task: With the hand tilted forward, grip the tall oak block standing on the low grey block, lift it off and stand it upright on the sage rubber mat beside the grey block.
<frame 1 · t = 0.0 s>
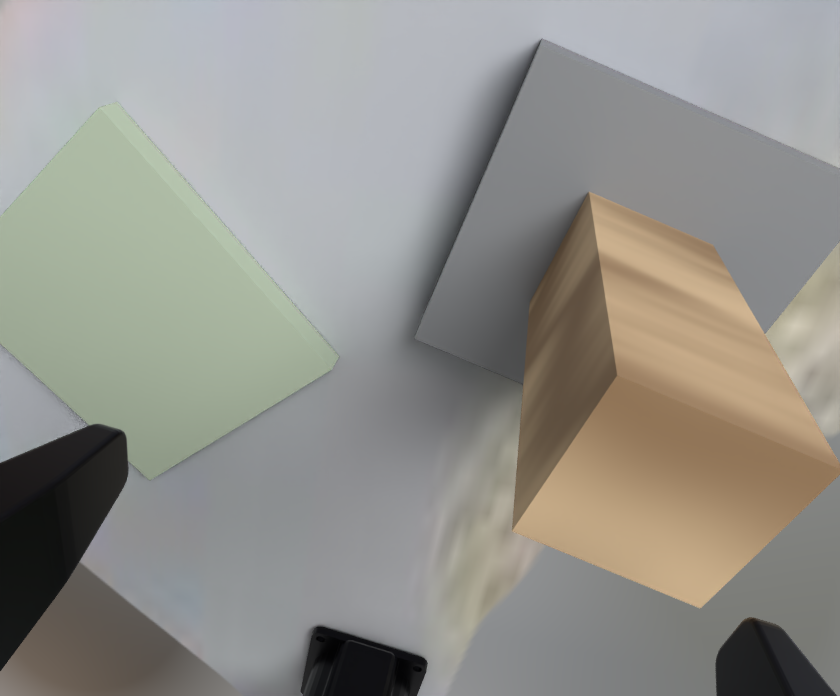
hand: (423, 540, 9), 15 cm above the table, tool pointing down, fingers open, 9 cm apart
oak block: (616, 275, 20), point 2 cm above the table, touching grey block
grey block: (611, 251, 21), on the table
sage mat: (142, 315, 26), on the table
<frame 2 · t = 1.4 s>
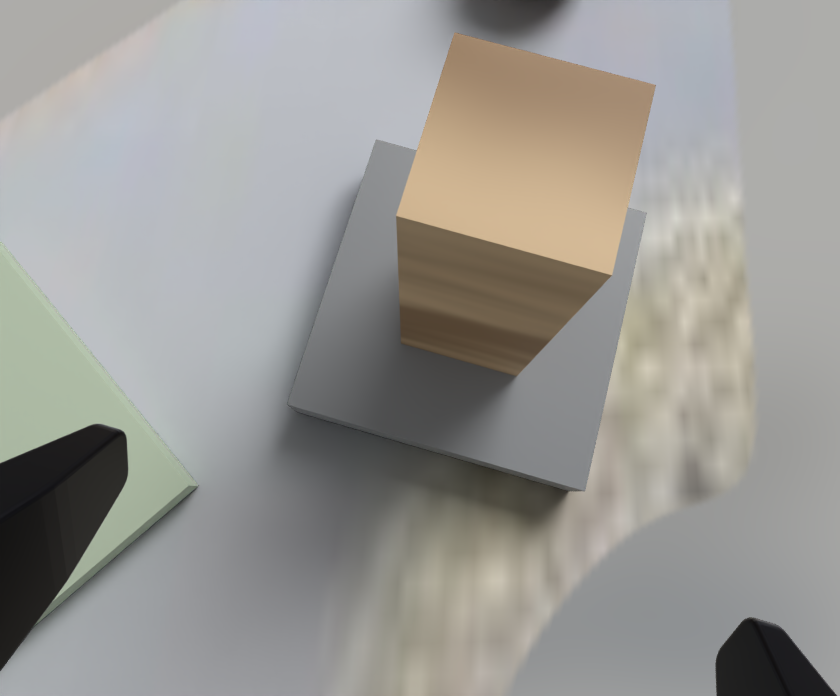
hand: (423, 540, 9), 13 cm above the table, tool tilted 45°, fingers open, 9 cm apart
oak block: (474, 304, 22), point 2 cm above the table, touching grey block
grey block: (468, 320, 23), on the table
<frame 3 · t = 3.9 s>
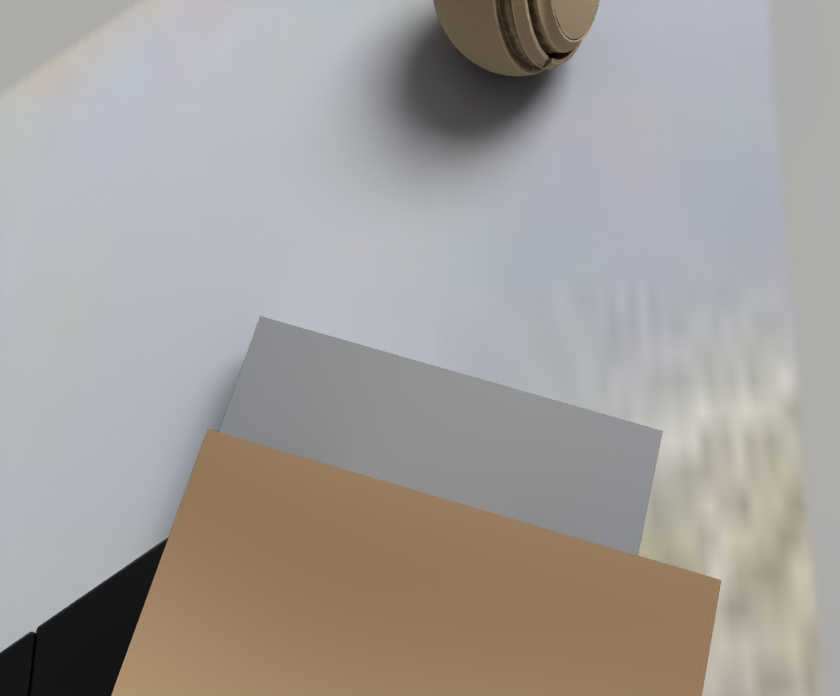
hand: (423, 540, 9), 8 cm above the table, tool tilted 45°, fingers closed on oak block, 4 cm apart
oak block: (399, 585, 14), point 2 cm above the table, touching grey block, gripper
grey block: (400, 574, 16), on the table
door knob: (506, 44, 20), on the table
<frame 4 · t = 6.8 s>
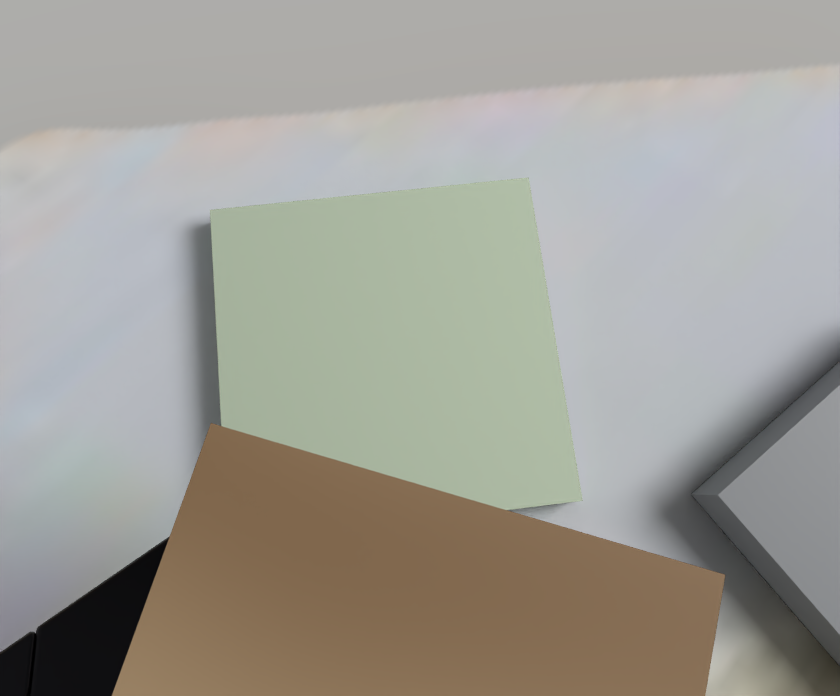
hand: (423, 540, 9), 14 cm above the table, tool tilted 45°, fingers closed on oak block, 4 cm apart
oak block: (400, 583, 14), point 8 cm above the table, touching gripper
sage mat: (388, 354, 23), on the table
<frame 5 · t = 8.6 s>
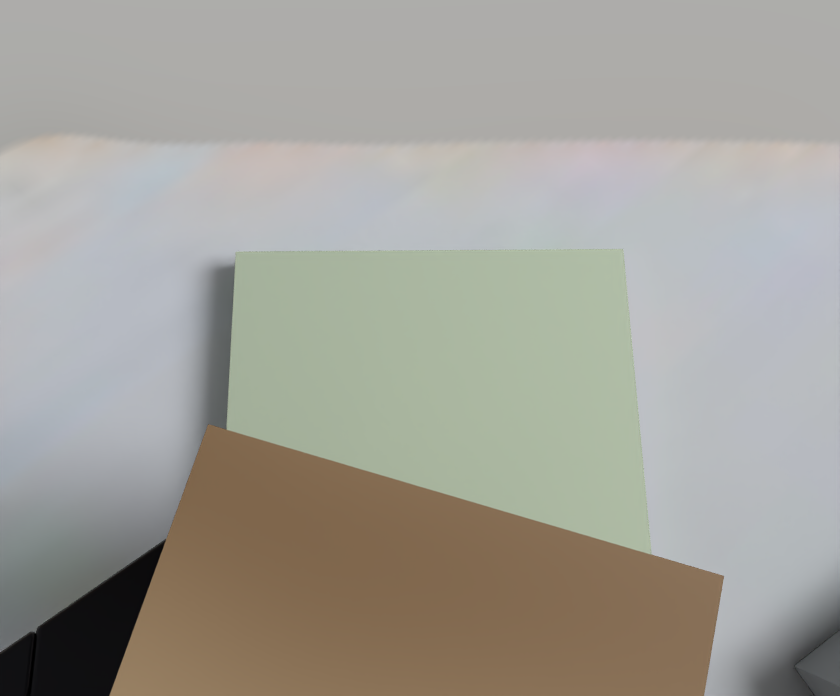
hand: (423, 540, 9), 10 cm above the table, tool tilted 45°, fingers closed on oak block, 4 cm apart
oak block: (400, 584, 14), point 5 cm above the table, touching gripper
sage mat: (433, 448, 19), on the table
when the fingers open (7 cm above the table, at t = 9.9 s): oak block stays where it is, resting on sage mat.
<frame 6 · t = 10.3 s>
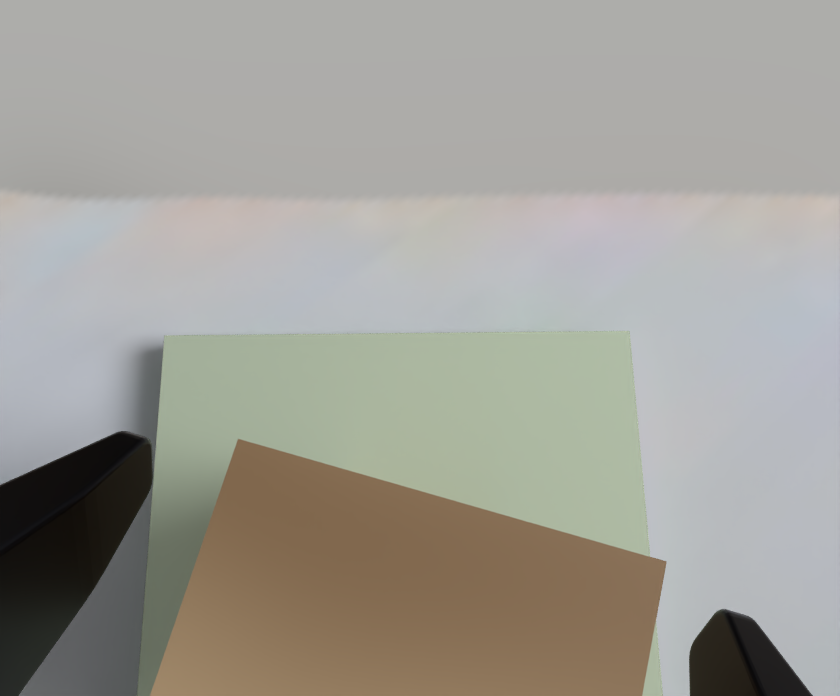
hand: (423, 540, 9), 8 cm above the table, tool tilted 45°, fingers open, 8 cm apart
oak block: (399, 578, 15), point 1 cm above the table, touching sage mat
sage mat: (401, 573, 16), on the table
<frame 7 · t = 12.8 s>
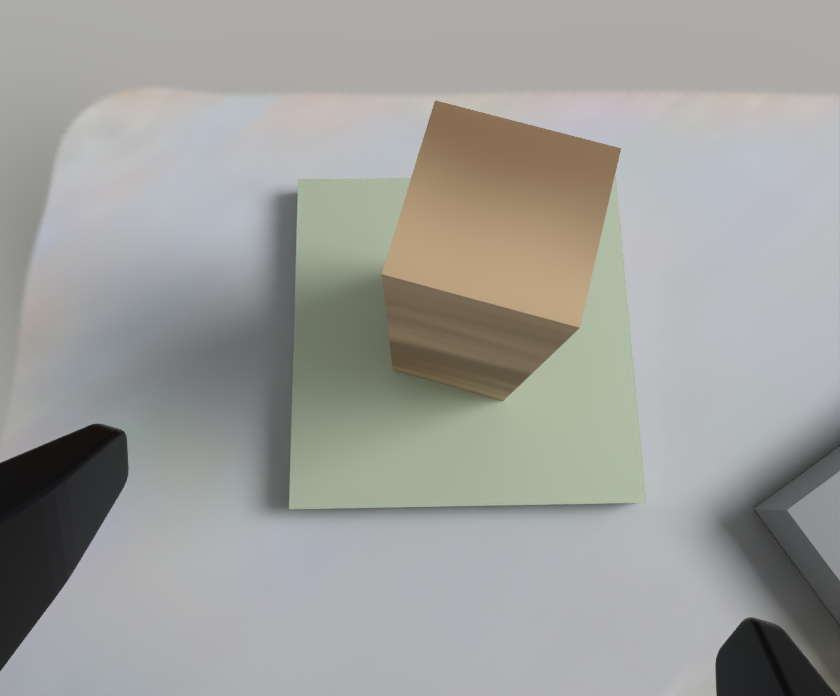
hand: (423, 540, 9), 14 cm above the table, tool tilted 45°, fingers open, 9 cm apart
oak block: (462, 332, 23), point 1 cm above the table, touching sage mat
sage mat: (460, 339, 24), on the table
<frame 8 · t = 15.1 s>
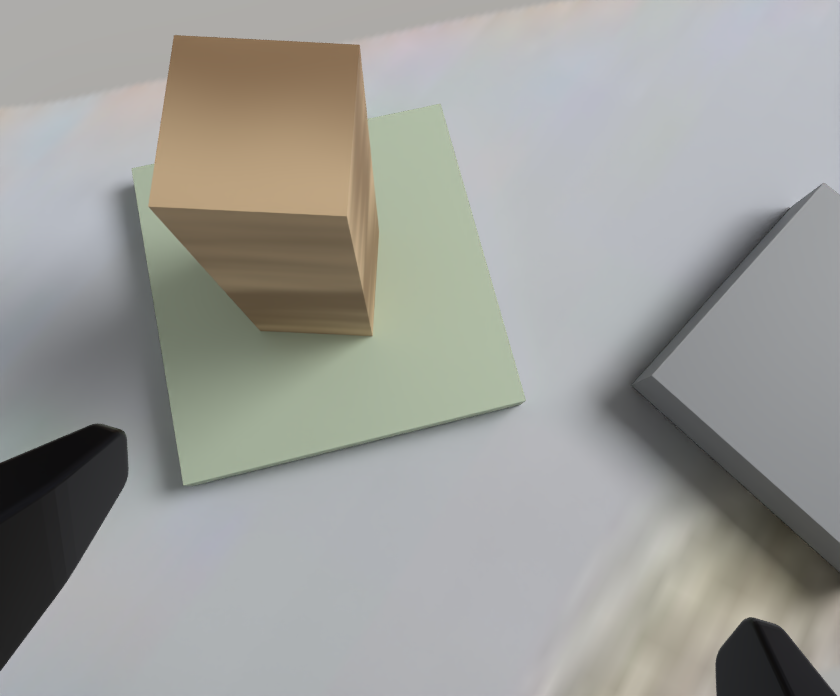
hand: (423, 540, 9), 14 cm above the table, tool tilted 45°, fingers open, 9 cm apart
oak block: (320, 280, 23), point 1 cm above the table, touching sage mat
grey block: (820, 382, 24), on the table
sage mat: (325, 289, 24), on the table
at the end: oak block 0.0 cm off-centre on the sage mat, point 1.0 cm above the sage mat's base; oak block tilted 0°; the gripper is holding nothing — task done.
